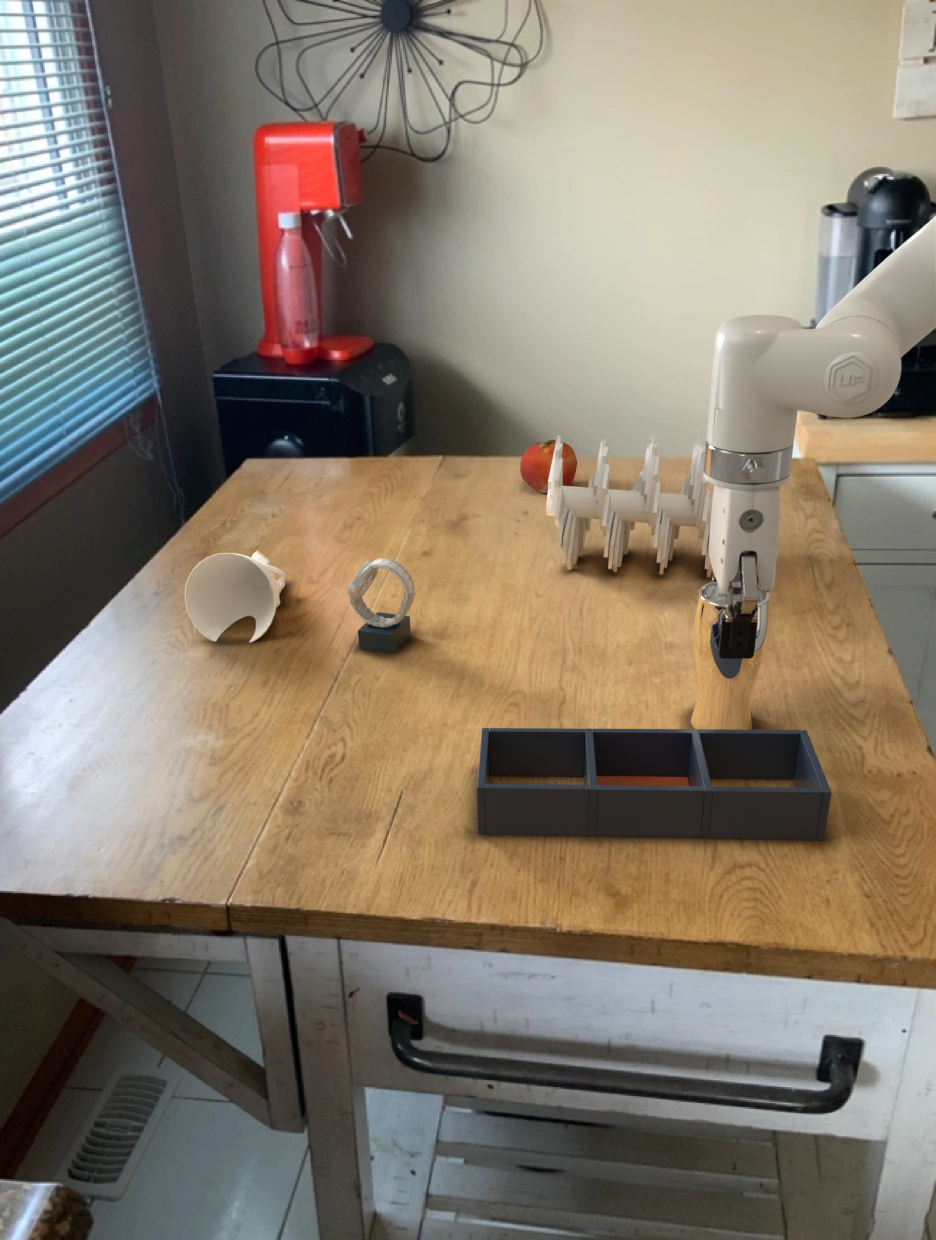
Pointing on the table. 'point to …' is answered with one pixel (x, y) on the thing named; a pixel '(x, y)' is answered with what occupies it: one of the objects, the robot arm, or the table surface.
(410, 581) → the watch
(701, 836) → the compartment tray
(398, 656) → the table surface
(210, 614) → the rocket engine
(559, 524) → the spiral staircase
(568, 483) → the tomato
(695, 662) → the beer glass
